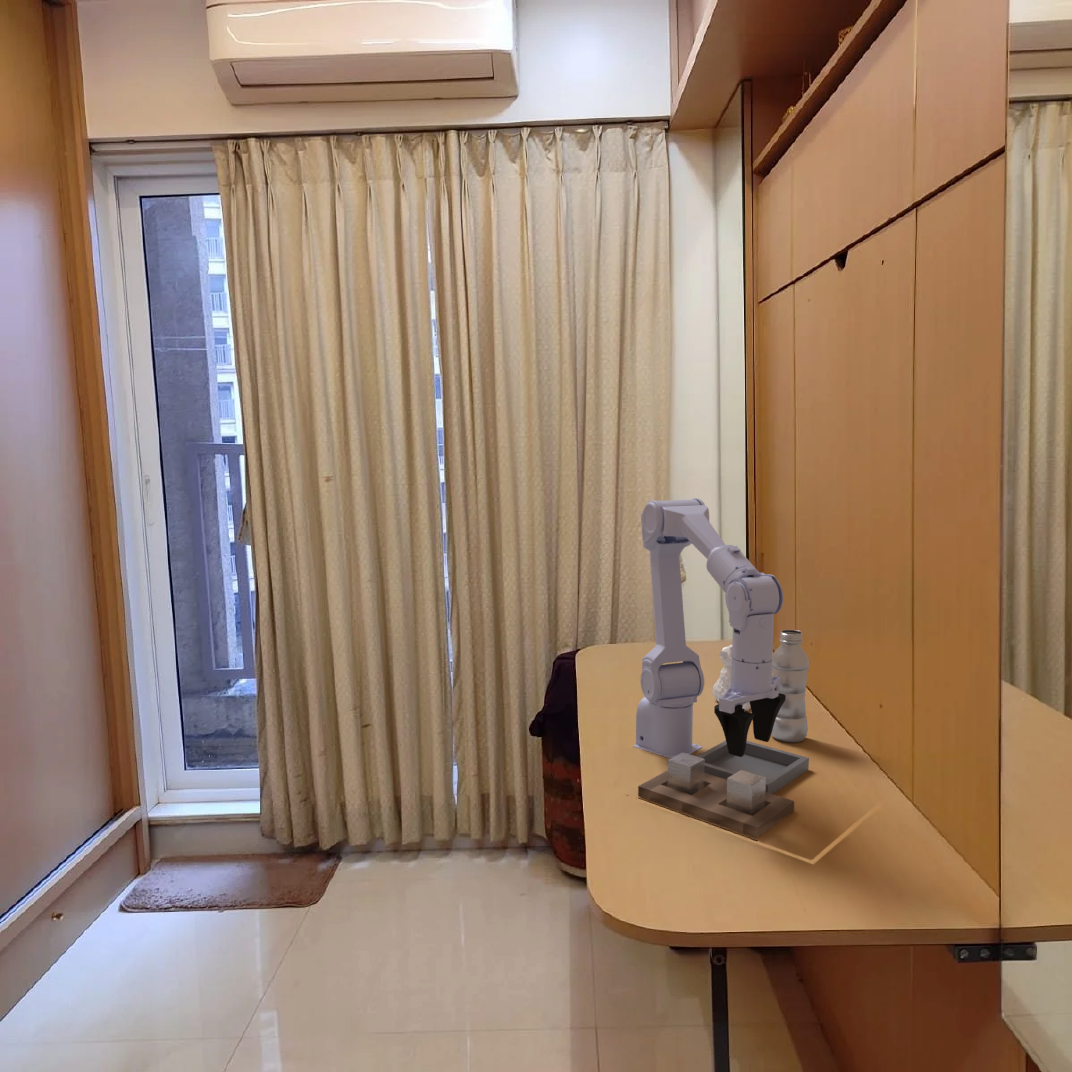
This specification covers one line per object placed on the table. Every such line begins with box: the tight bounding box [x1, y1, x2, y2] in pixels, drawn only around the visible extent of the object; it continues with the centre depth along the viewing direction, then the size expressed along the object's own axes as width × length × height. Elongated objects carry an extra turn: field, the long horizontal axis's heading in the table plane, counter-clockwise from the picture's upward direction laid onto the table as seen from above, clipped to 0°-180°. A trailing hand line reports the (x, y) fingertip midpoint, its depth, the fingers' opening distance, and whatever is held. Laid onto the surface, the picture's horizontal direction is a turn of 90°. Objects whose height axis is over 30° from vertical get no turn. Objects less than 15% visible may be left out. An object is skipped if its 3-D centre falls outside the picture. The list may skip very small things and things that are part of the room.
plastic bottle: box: [771, 629, 810, 743], centre depth 152 cm, size 6×7×20 cm
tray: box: [696, 740, 810, 795], centre depth 138 cm, size 14×14×2 cm
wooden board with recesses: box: [637, 769, 795, 842], centre depth 127 cm, size 20×11×2 cm, turn 47°
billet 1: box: [667, 752, 705, 795], centre depth 130 cm, size 4×4×6 cm
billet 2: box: [726, 770, 766, 816], centre depth 123 cm, size 4×4×6 cm
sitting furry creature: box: [712, 644, 751, 712], centre depth 173 cm, size 10×9×12 cm
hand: (749, 747), depth 125 cm, fingers open, 7 cm apart
